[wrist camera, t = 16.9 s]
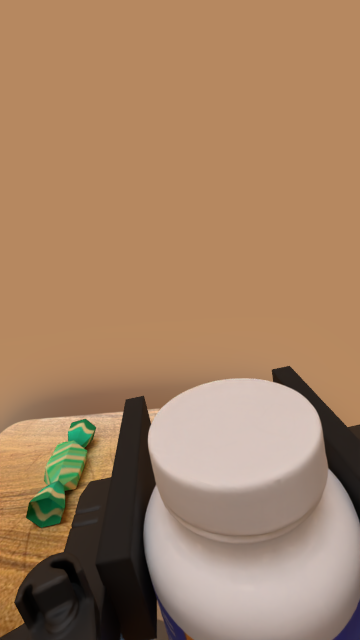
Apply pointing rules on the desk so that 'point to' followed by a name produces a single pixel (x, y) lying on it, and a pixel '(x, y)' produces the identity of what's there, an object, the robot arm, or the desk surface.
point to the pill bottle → (249, 519)
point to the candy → (61, 475)
